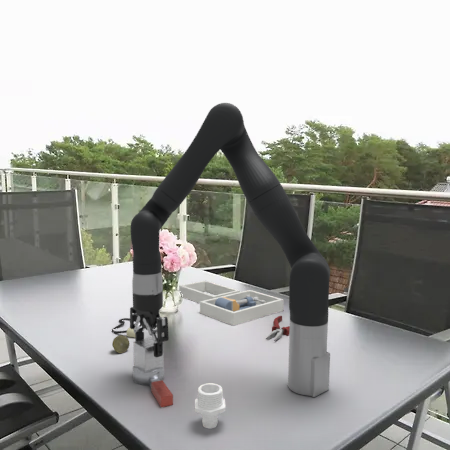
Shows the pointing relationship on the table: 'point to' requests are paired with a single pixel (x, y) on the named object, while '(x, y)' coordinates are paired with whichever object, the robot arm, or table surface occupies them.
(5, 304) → the table surface
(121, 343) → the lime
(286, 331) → the pliers
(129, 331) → the cable
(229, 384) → the table surface
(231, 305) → the vise
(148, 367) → the pale grey cube
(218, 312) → the white tray
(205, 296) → the grey tray
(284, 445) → the table surface
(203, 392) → the pipe fitting
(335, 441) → the table surface
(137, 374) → the ratchet
